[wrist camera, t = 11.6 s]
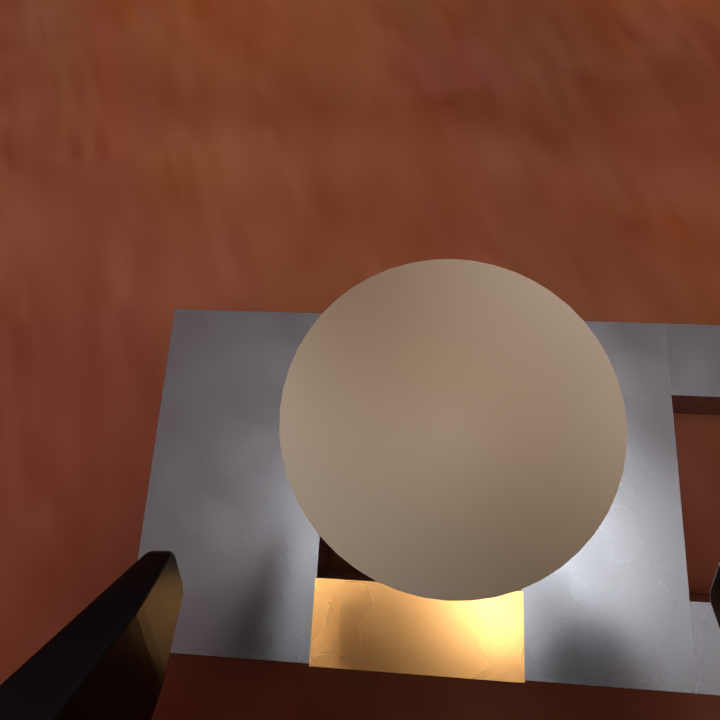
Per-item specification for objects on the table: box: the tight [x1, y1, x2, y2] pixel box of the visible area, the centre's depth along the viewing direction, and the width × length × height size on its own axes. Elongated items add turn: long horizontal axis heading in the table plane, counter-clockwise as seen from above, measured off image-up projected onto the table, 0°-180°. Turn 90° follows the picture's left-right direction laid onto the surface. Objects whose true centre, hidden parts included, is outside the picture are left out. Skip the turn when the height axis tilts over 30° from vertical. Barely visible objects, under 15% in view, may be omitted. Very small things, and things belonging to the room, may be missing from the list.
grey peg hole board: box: [138, 309, 720, 695], centre depth 18 cm, size 26×10×3 cm, turn 87°
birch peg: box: [279, 259, 627, 601], centre depth 13 cm, size 4×4×13 cm
